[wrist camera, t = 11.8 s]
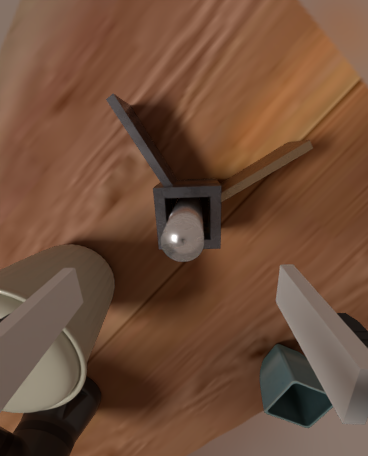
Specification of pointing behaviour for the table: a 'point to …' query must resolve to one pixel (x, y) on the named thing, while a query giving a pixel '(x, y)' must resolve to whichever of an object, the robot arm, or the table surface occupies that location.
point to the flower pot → (292, 388)
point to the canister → (72, 333)
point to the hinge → (198, 187)
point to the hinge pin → (184, 230)
